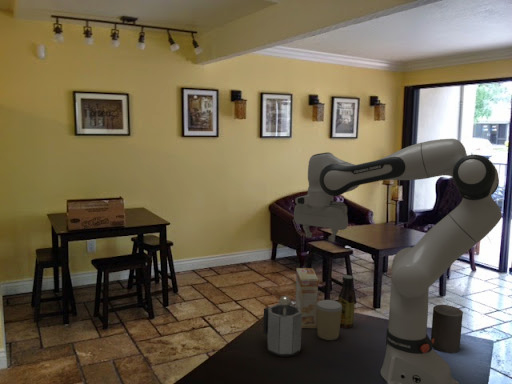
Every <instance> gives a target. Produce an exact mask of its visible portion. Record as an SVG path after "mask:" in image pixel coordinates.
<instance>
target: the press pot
mask: <svg viewBox="0 0 512 384" xmlns="http://www.w3.org/2000/svg"><path fill="white" fill-rule="evenodd" d="M301 318H302V312H301V309H300V308H299V307H296V306H295V305H294V304H293V305H292V304H290V306H289V307H287V308H286V315H283V307H281V306H280V304H279V303H277V304H276V303H275V304H274V305H271V306H267V307H265V308H263V326H262V327H263V334H264V335H267V351H268V353H269V354H271V355H274V357H281V358H291V357H295V356H298V354H299V353H300V351H301V347H302V346H301V344H302V328H301Z"/></svg>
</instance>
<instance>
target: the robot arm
mask: <svg viewBox="0 0 512 384" xmlns="http://www.w3.org/2000/svg"><path fill="white" fill-rule="evenodd" d="M441 176H443V177H444V176H447V177H448V176H449V177H452V179H453V182H454V185H455V186H456V189H457V190H458V192H459V194H460V196H461V197H462V200H461V202H460V203H459V204H458V205H457V206H455V208H454V209H453V210H451V211H449V213H448V214H447V215H445V216H444V217H443V218H442V219H441V220H439V221H438V222H436V223H435V224H434V225H433V226H432V227H431V228H430V229H429V230H427V232H425V233H424V235H423V236H422V237H421V238H420V239H419V240H418V242H417V243H416V244H415V245H413V247H412V246H411V247H405V248H402V249H401V250H399V251H397V252H396V254H395V255H394V257H393V259H392V263H391V269H390V270H391V271H390V279H391V280H390V296H389V311H388V327H387V329H386V337H385V347H386V351H385V355H384V359H383V363H382V367H381V369H380V375H381V377H382V378H383V379H384V380H385V381H386V384H460V383H459V381H457V380H456V379H454V378H453V377H452V376H453V375H452V370H451V366H450V365H449V364H448V362H447V361H446V360H444V358H442V356H440V355H439V354H438V353H437V351H435V349H434V348H433V347H432V344H433V343H434V338H433V339H432V340H431V337H429V335H428V333H427V332H428V331H427V329H428V318H429V317H428V316H429V291H430V288H431V286H432V285H433V284H434V283H435V282H437V280H439V279H440V278H441V276H442V275H443V274H445V272H446V271H447V270H448V269H450V267H451V266H452V265H453V264H454V263H455V262H456V261H457V260H458V259H459V258H461V257H462V256H463V255H464V254H465V253H467V252H468V251H470V249H472V248H473V247H474V246H475V245H477V244H478V243H479V242H480V241H482V240H483V239H484V238H485V237H486V236H487V235H489V233H490V232H492V230H493V229H494V228H495V227H496V226H497V225H498V223H500V220H501V219H502V210H501V207H500V206H499V204H498V203H497V202H496V201H495V200H494V199H493V195H494V193H496V192H497V190H498V188H499V186H500V185H499V184H500V180H499V179H500V178H499V172H498V170H497V167H496V166H495V165H494V164H493V162H492V161H491V159H489V158H487V157H486V156H484V155H480V154H467V150H466V148H465V146H464V144H463V143H462V142H461V141H460V140H459V139H456V138H441V139H433V140H427V141H424V142H423V141H422V142H418V143H415V144H413V145H412V144H411V145H409V146H406V147H404V148H402V149H399V150H398V151H395V152H393V153H390V154H389V155H387V156H384V157H382V158H380V159H376V160H373V161H369V162H363V163H359V164H354V163H351V162H349V161H345V160H342V159H340V158H338V157H337V156H335V155H334V154H333V153H331V152H321V153H316V154H313V155H311V157H309V160H308V165H307V181H308V188H307V194H304V195H303V196H301V195H300V196H298V197H296V198H295V199H294V200H295V201H294V202H295V204H296V205H295V206H294V209H293V210H294V211H293V220H294V222H295V224H296V225H302V228H303V230H304V233H305V238H308V239H309V238H312V237H313V231H310V226H311V227H317V228H318V227H319V228H324V229H330V232H331V235H329V236H328V242H331V243H333V242H336V236H337V233H339V231H343V230H346V229H347V228H348V227H349V218H348V206H347V205H346V203H344V202H343V201H335V200H334V197H338V196H339V197H340V196H341V195H343V194H345V193H348V192H351V191H354V190H355V189H357V188H359V187H360V186H361V185H367V184H371V183H376V182H380V181H417V180H425V179H431V178H437V177H441Z"/></svg>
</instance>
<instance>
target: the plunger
mask: <svg viewBox="0 0 512 384" xmlns="http://www.w3.org/2000/svg"><path fill="white" fill-rule="evenodd" d="M291 303H292V300H291V298H290V297H289V296H288V295H282V296H280V298H279V300H278V304H280V306H281V307H283V315H286V308H287V307H289V306H290V305H292V304H291Z"/></svg>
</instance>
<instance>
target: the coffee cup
mask: <svg viewBox="0 0 512 384" xmlns="http://www.w3.org/2000/svg"><path fill="white" fill-rule="evenodd" d="M316 306H317V328H316V330H317V337H319V338H320V339H323V340H326V341H332V340H333V341H334V340H337V339H339V336H340V329H341V328H340V321H341V311H342V305H341V304H340V303H339V302H338V301H337V300H333V299H321V300H319V301H317V305H316Z"/></svg>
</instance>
